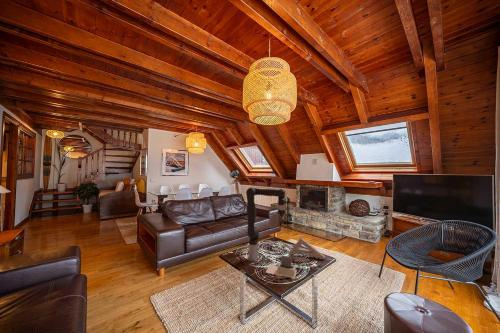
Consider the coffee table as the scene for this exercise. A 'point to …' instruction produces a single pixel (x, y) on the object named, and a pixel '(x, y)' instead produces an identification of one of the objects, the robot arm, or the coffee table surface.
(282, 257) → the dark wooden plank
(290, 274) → the well board
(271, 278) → the coffee table surface
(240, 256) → the coffee table surface
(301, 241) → the wall bracket
